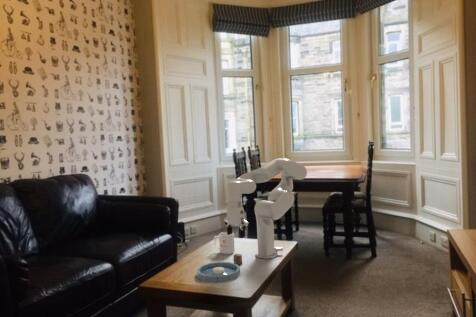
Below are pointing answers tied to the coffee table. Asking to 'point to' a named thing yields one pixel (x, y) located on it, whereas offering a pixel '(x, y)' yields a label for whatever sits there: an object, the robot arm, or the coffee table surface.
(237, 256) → the walnut bead
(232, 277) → the ring tray
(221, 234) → the mug
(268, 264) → the coffee table surface
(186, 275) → the coffee table surface
